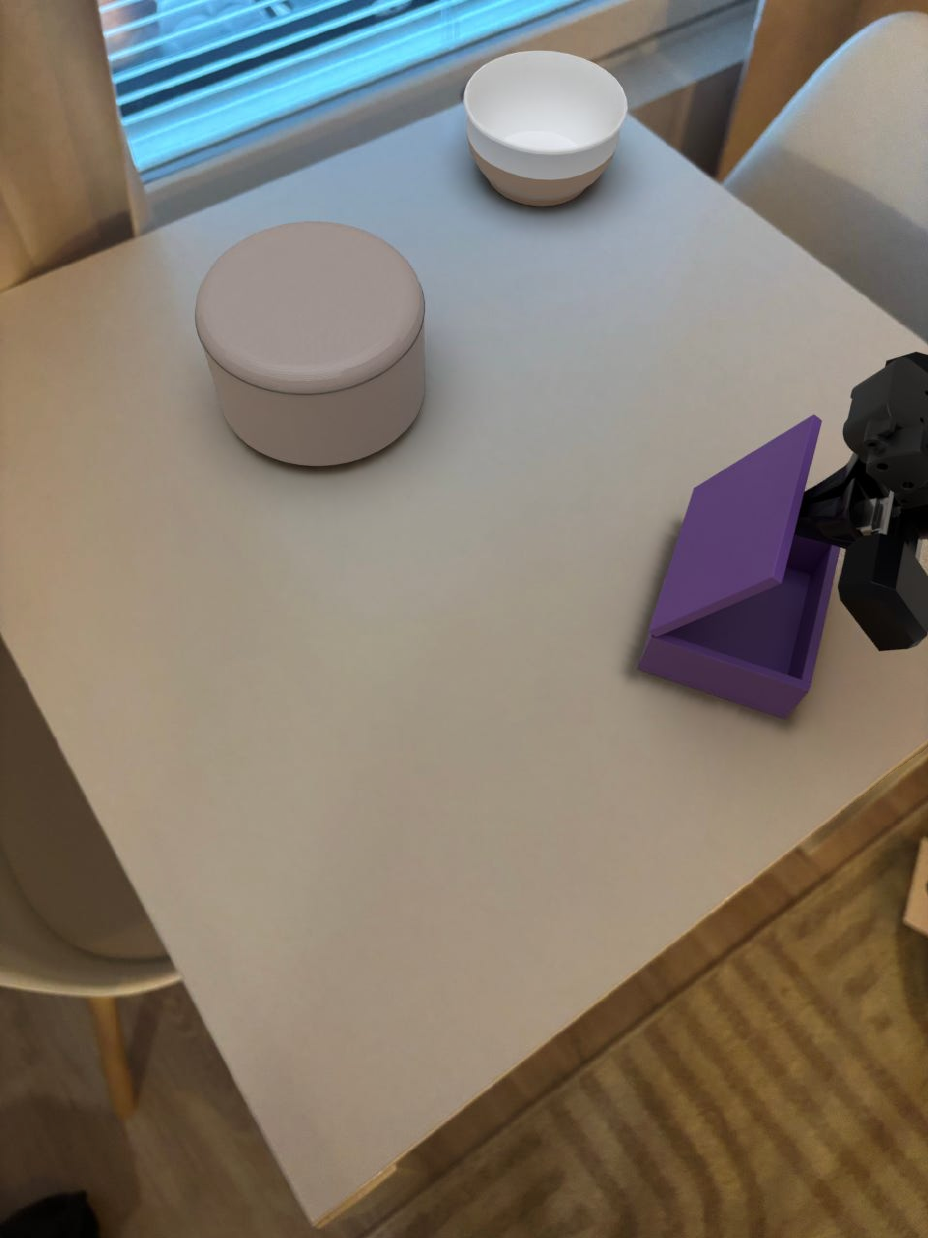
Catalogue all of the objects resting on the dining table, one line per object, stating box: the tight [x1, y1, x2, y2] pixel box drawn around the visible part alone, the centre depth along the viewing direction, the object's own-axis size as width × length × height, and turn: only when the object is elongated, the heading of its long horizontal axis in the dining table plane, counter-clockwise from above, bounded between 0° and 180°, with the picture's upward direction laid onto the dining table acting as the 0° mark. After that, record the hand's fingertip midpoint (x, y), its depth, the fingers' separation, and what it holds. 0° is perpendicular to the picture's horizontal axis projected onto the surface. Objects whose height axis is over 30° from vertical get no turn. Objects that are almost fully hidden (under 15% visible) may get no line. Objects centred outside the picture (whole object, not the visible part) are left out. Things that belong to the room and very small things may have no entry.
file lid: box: [647, 414, 823, 637], centre depth 64 cm, size 12×13×1 cm
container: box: [194, 220, 426, 467], centre depth 78 cm, size 18×18×12 cm
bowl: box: [462, 50, 629, 207], centre depth 95 cm, size 16×16×8 cm
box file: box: [636, 535, 842, 720], centre depth 71 cm, size 11×13×5 cm
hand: (773, 520), depth 62 cm, fingers closed, pressing on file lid
